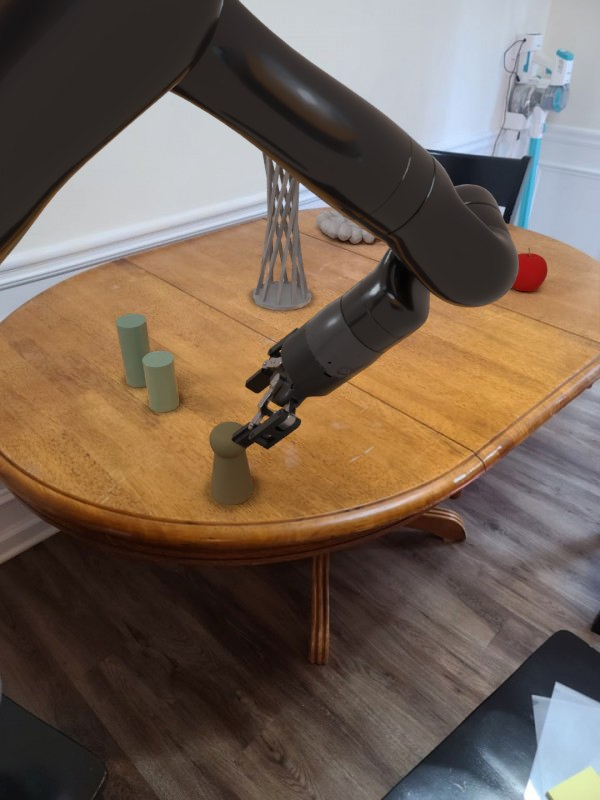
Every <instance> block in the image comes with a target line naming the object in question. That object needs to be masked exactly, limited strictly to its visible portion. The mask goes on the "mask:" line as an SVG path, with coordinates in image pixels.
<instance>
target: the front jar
mask: <svg viewBox="0 0 600 800" xmlns="http://www.w3.org/2000/svg"><path fill="white" fill-rule="evenodd" d="M142 362H143V368H144V375H145V381H146V386H145V388H146V392H147V393H146V394H147V398H148V405H149V408H150V410H152V411H154V412H156V413H168V412H172V411H174V410H175V409H177V408H178V407H179V406H180V396H179V386H178V378H177V370H176V369H177V368H176V363H175V362H176V361H175V356H174V354H173V353H172V352H170V351H167V350H154V351H151V352H150V353H148V354H146V355H145V356H144V357H143V359H142Z"/></svg>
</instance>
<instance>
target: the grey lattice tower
mask: <svg viewBox="0 0 600 800" xmlns="http://www.w3.org/2000/svg"><path fill="white" fill-rule="evenodd" d="M261 153H262V159H263V164H264V170H265V176H266V210H267V223H266V229H265V235H264V241H263V250H262V256H261V263H260V270H259V275H258V278H257V284H256V287H255V288H253V290H252V298H253V301H254V303H255V304H256V305H257V306H259V307H261V308H262V309H267V310H270V311H277V312H279V311H281V312H282V311H283V312H287V311H293V310H296V309H302V308H303V307H306V306H308V305H309V303H310V302H311V301H312V293H311V292H310V289H309V287H308V283H307V277H306V273H305V269H304V261H303V253H302V244H301V234H300V225H299V210H300V209H299V205H300V184H301V183H300V182H298V181H297V180H296V179H295V178H293V177H292V176H291V175H290V174H289V173H287V172H286V171H285V170H284V169H283V168H281V167H280V166H279V165H278V164H277V163H275V165H274V161H273V160H272V159H270V158H269V157H268V156H267V155H265V154H264V153H263V152H262V151H261ZM279 179H280V184H281V187H280V186H279ZM288 185H289V188H288V187H287V186H288ZM283 202H284V203H283ZM279 217H280V223H279ZM287 219H288V220H287ZM283 234H284V236H285V243H284V247H283V243H282V238H283ZM291 235H292V236H291ZM275 236H276V239H275V242H274V237H275ZM291 237H292V238H291ZM283 248H284V249H283ZM278 254H279V259H280V265H281V266H280V273H279V278H278V280H276V281H274V270H275V266H276V261H277V258H278ZM288 254H289V256H290V262H291V279H290V280H291V281H289V278H288V272H287V266H286V265H287V260H288ZM267 264H268V270H267V273H266V274H267V275H266V278H265V271H266V268H267ZM264 279H265V282H264Z"/></svg>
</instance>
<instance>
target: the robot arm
mask: <svg viewBox="0 0 600 800" xmlns="http://www.w3.org/2000/svg"><path fill="white" fill-rule="evenodd" d="M167 93H170V94H171V93H172V94H174V95H176V96H177V97H180V98H181V99H183V100H185V101H187V102H188V103H190V104H192V105H194V106H196V107H197V108H199V109H200V110H202V111H204V113H205V112H206V113H207V114H208V115H210V116H211V117H213V118H214V119H216V120H218V121H219V122H221V123H222V124H224V125H225V126H227V127H228V128H229V129H231V130H232V131H234V132H235V133H236V134H238V135H240V137H242V138H243V139H245V140H246V141H247V142H249V143H250V144H251V145H253V146H254V147H255V148H256V149H258V150H259V151H260V152H261V153H262V152H263V153H264V154H265V155H267V156H268V157H269V158H270V159H272V161H273V163H275V164H276V163H277V164H278V165H279V166H280V167H281V168H283V171H284V172H285V171H286V172H287V173H289V174H290V175H291V176H292V177H293V178H295V179H296V180H297V181H298V182H300V184H301V185H302V186H303V187H304V188H306V189H307V190H308V191H309V192H310V193H312V194H313V195H314V196H315V197H317V198H318V199H320V200H321V201H322V202H323V203H325V204H327V206H328V207H330V208H332V209H333V210H336V211H337V212H339V213H340V214H342V215H343V216H345V217H346V218H348V219H349V220H351V221H352V222H354V223H355V224H357V225H358V226H360V227H361V228H362V229H364V230H365V231H367V232H368V233H370V234H371V235H373V236H375V237H376V238H378V239H377V240H380V241H381V242H383V244H385V245H386V246H387V247H388V248H387V250H386V251H385V253H384V254H383V255H382V257H381V258H380V260H379V262H378V263H377V265H376V266H375V268H374V269H373V270H372V271H371V272H369V273H368V274H367V275H365V276H364V277H363V278H362V279H360V280H359V281H358V282H357V283H356V284H354V285H353V286H352V287H351V288H349V290H347V291H346V292H345V293H343V294H342V295H340V296H339V297H338V298H336V299H334V300H333V301H331V302H329V303H328V304H327V305H325V306H324V307H322V308H321V309H320V310H319V311H318V312H317V313H316V314H315V315H313V316H312V317H311V318H310V319H309V320H307V321H305V323H303V324H302V325H301V326H300V327H295V328H294V329H293V330H292V331H290V332H289V333H288V334H286V335H285V336H284V337H282V338H281V339H280V340H279V341H277V342H276V343H275V344H274V345H272V346H271V347H270V348H269V349H268V351H267V354H266V355H267V356H269V358H268V359H265V360H264V361H263V363H262V365H261V367H260V368H259V369H258V370H257V371H256V372H254V373H253V374H252V375H251V376H250V377H248V379H246V380H245V383H244V387H245V388H246V389H248V390H249V391H251V392H252V393H254V394H260V393H261V392H263V391H265V389H267V388H268V389H267V390H266V392H265V393H264V395H263V396H262V397H261V399H260V400H259V402H258V403H257V406H256V407H257V409H258V410H257V412H256V413H255V414H254V416H253V417H252V419H251V420H250V421H248V422H247V423H245V424H244V425H242V426H243V427H242V428H240V429H239V430H237V431H236V432H235V433H233V435H232V439H231V440H232V441H233V442H234V443H236V444H238V445H239V446H241V447H243V448H247V449H248V448H249V447H251V446H252V445H254V444H256V445H259V446H260V447H262V448H263V449H264V450H266V451H268V450H270V449H271V448H273V447H274V446H276V445H277V444H278V443H279V442H281V441H282V440H283V439H285V438H287V436H290V434H291V433H293V432H295V431H296V430H297V429H298V428H300V426H301V424H302V419H301V418H299V417H298V416H296V412H297V409H298V408H299V407H300V406H301V405H302V403H304V402H305V401H306V400H307V398H320V397H326V396H328V395H329V394H332V393H333V392H334V391H336V390H337V389H338V388H340V387H341V386H343V385H344V384H346V383H347V382H349V381H350V380H352V379H353V378H354V377H356V376H358V375H359V374H360V373H362V372H363V371H365V370H366V369H368V368H369V367H370V366H372V365H373V364H374V363H376V362H377V361H378V359H380V358H381V357H382V356H383V355H384V354H386V353H387V352H388V351H389V350H391V349H392V348H394V347H395V346H397V345H398V344H400V343H401V342H403V341H404V340H405V339H407V338H408V337H410V336H411V335H412V334H415V332H416V331H418V330H419V329H421V327H423V326H424V324H425V323H426V322H427V321H428V318H429V314H430V308H431V304H430V303H431V294H432V295H433V296H435V297H436V298H438V299H439V300H441V301H443V302H444V303H446V304H449V305H452V306H455V307H458V308H465V309H466V308H467V309H469V308H470V309H474V308H482V307H486V306H489V305H491V304H494V303H496V302H497V301H499V300H500V299H502V298H503V297H505V295H507V294H508V292H509V291H511V289H512V286H513V284H514V282H515V280H516V277H517V274H518V269H519V258H518V254H519V253H518V249H517V246H516V245H515V243H514V240H513V238H512V235H511V233H510V231H509V228H508V226H507V223H506V221H505V219H504V216H503V214H502V211H501V209H500V205H499V204H498V202H497V200H496V198H495V197H494V195H493V194H492V193H491V192H490V191H489V190H487V189H486V188H485V187H482V186H480V185H477V184H468V183H467V184H460V185H455V186H454V183H453V181H452V180H451V178H450V175H449V174H448V172H447V170H446V168H444V167H443V165H442V164H441V163H440V162H439V160H438V159H436V157H434V155H433V154H431V153H430V152H429V151H428V149H426V148H425V147H424V146H422V145H421V143H419V142H418V141H417V140H416V139H415V138H414V137H413V136H411V135H410V134H409V132H407V131H406V130H404V129H403V127H402V126H400V125H399V124H397V123H396V122H395V121H394V120H393V119H391V118H390V117H389V116H388V115H386V113H384V112H383V111H381V110H380V109H379V108H378V107H376V106H375V105H374V104H372V103H371V102H370V101H368V100H367V99H366V98H364V97H362V96H361V95H360V94H358V93H357V92H356V91H354V90H353V89H351V88H350V87H348V86H347V85H345V84H344V83H342V82H341V81H339V80H338V79H337V78H335V77H334V76H332V75H331V74H329V73H328V72H326V71H325V70H323V69H322V68H320V67H319V66H318V65H316V64H315V63H314V62H312V61H311V60H310V59H308V58H306V56H304V55H303V54H301V53H300V52H298V51H297V50H296V49H294V48H293V47H292V46H291V45H290V44H289V43H288V42H286V41H285V40H284V39H283V38H281V37H280V36H279V35H277V34H276V33H275V32H273V30H272V29H270V28H269V27H268V26H267V25H265V23H263V21H262V20H260V19H259V18H258V17H257V15H255V14H254V13H253V12H252V11H251V10H250V9H248V7H246V6H245V4H243V2H241V0H0V266H1V265H2V264H3V263H4V261H5V260H6V259H7V258H8V257H9V255H10V254H11V253H12V252H13V250H14V249H15V248H16V247H17V246H18V244H19V243H20V242H21V241H22V239H23V238H24V236H26V234H27V233H28V232H29V230H30V229H31V228H32V226H33V225H34V224H35V222H36V221H37V220H38V218H39V216H40V215H42V213H43V211H44V210H45V209H46V208H47V206H48V205H49V203H50V202H51V201H52V200H53V199H54V197H55V196H56V195H57V194H58V192H59V191H60V190H62V188H63V187H64V186H65V185H66V184H67V183H68V182H69V181H70V180H71V178H72V177H74V175H75V174H77V173H78V172H79V171H80V170H81V169H82V168H83V167H84V166H85V165H86V164H88V163H89V161H91V160H92V158H94V157H95V156H96V155H98V154H99V152H101V151H102V150H103V149H104V148H105V147H107V145H109V144H110V143H111V142H112V141H113V140H114V139H115V138H117V137H118V136H119V135H120V134H121V133H122V132H123V131H125V130H126V129H127V128H128V127H129V126H130V125H131V124H133V123H134V122H135V121H136V120H137V119H138V118H140V117H141V116H142V115H143V114H145V112H147V110H149V109H150V108H151V107H152V106H153V105H155V104H156V103H157V102H158V101H159V100H161V99H162V98H163V97H164V96H165V95H166V94H167ZM376 238H375V239H376ZM270 402H271V403H272V404H274V405H275V406H277V407H279V409H278V410H277V409H275V410H274V409H272V408H271V407H269V406H268V405H269V404H270ZM264 417H267V418H266V419H265V420H263V419H264ZM262 420H263V421H262ZM261 421H262V422H261Z"/></svg>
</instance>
